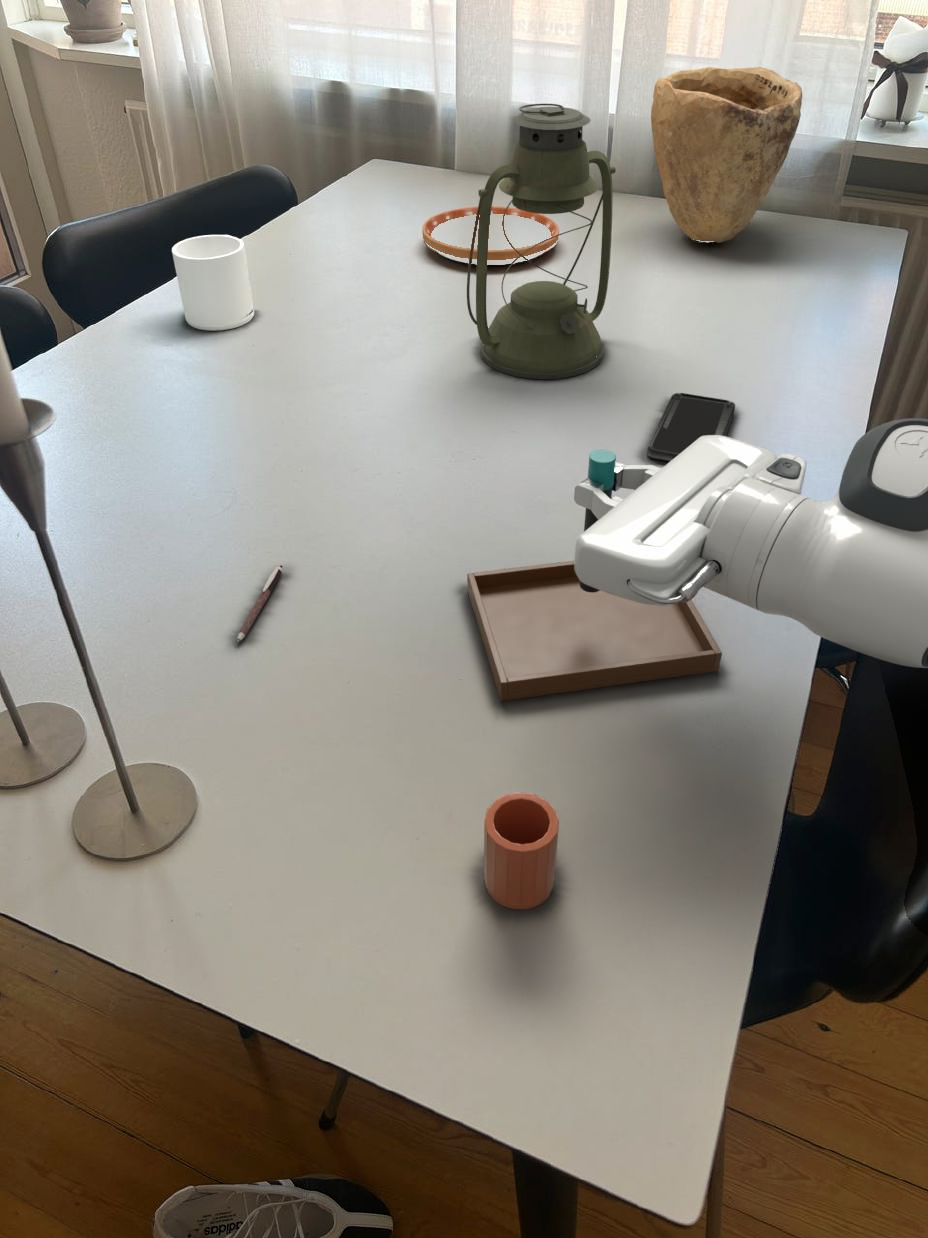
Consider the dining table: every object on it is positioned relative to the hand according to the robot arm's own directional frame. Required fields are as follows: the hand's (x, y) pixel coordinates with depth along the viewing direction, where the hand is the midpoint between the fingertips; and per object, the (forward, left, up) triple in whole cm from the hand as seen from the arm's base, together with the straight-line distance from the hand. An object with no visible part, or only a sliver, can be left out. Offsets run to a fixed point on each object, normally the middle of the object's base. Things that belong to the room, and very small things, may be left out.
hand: (591, 480), depth 78 cm
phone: (-22, -31, -15) cm, 41 cm away
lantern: (-10, -57, -15) cm, 60 cm away
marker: (-1, +1, -10) cm, 10 cm away
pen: (+29, -8, -15) cm, 33 cm away
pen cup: (+12, +26, -15) cm, 32 cm away
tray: (0, +1, -15) cm, 15 cm away
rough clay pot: (-48, -93, -15) cm, 106 cm away
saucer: (-12, -98, -15) cm, 100 cm away
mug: (+33, -79, -15) cm, 87 cm away
